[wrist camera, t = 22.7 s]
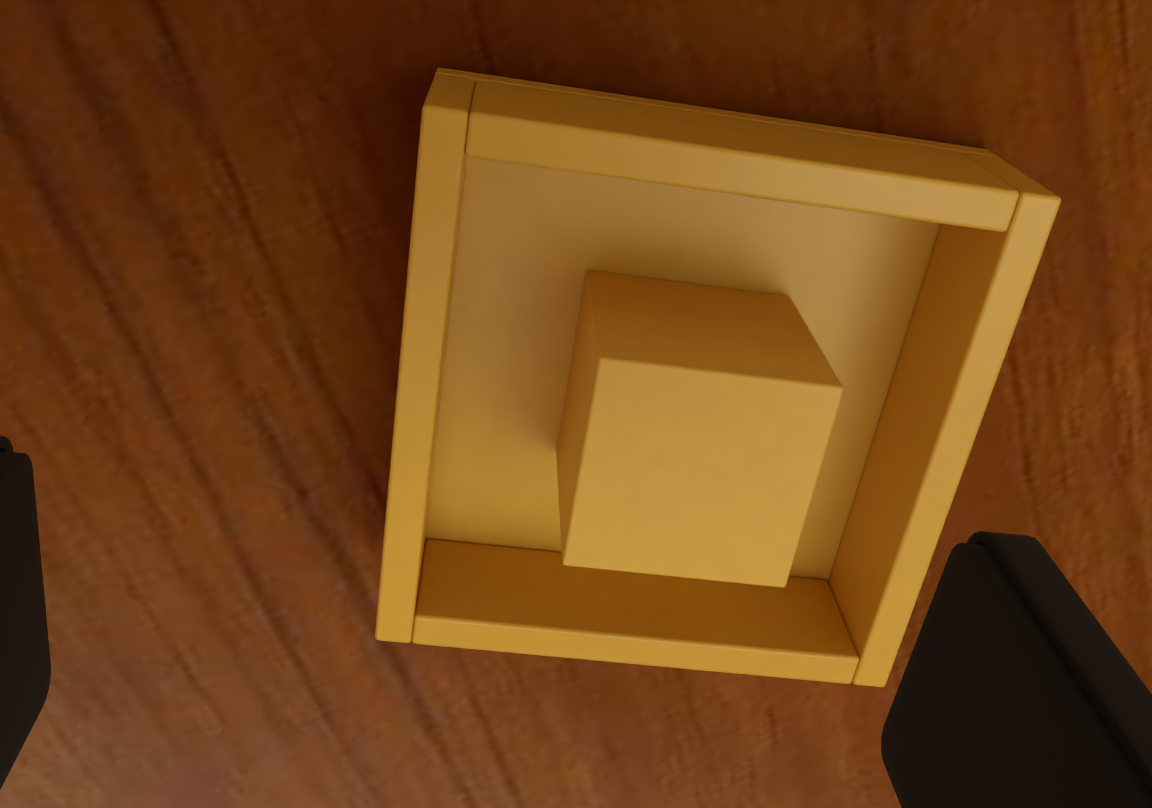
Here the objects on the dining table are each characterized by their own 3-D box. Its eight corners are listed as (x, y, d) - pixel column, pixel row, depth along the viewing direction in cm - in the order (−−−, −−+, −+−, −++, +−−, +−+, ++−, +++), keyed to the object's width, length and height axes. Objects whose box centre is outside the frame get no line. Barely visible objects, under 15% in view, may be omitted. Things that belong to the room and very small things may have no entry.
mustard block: (555, 452, 25) (561, 566, 21) (585, 268, 23) (599, 357, 19) (745, 472, 26) (785, 589, 22) (791, 295, 24) (845, 387, 20)
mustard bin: (391, 546, 27) (374, 641, 24) (436, 66, 22) (422, 104, 18) (844, 593, 28) (885, 689, 25) (988, 148, 23) (1064, 198, 20)
